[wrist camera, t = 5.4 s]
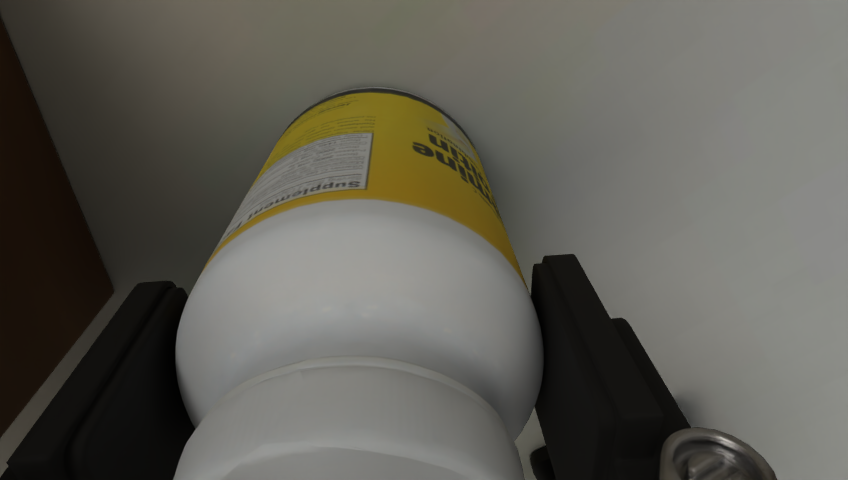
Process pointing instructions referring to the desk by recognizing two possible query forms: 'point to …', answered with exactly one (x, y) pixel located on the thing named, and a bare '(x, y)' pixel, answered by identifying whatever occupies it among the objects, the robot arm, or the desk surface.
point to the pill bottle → (361, 310)
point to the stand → (38, 249)
